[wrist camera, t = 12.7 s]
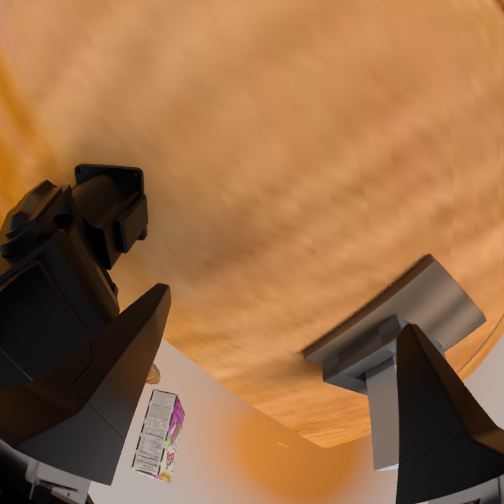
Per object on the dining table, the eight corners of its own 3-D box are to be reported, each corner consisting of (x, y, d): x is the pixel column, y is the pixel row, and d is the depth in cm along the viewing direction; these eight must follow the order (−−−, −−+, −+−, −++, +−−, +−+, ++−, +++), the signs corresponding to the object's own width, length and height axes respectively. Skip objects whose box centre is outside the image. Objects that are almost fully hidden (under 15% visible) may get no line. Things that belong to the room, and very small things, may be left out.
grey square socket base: (303, 351, 31) (303, 377, 29) (430, 253, 22) (444, 280, 19) (382, 382, 36) (385, 402, 33) (484, 314, 26) (493, 336, 23)
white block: (363, 358, 30) (373, 470, 19) (389, 342, 28) (408, 460, 17) (381, 366, 31) (394, 469, 20) (406, 351, 29) (426, 458, 18)
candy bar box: (186, 414, 51) (171, 483, 38) (163, 408, 51) (146, 476, 38) (179, 393, 44) (158, 478, 31) (152, 387, 44) (128, 469, 31)
